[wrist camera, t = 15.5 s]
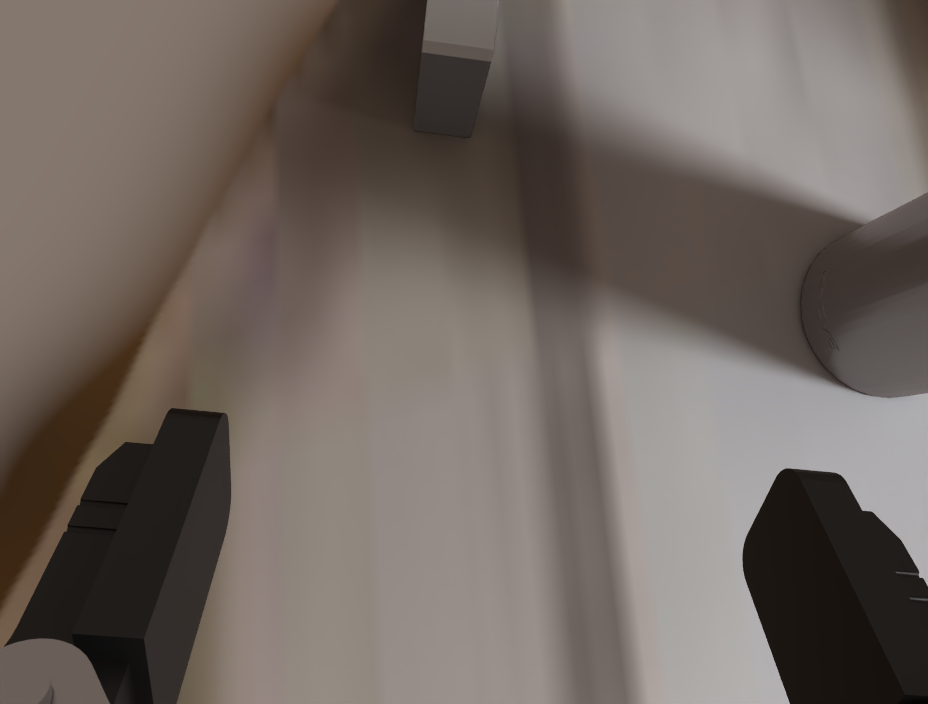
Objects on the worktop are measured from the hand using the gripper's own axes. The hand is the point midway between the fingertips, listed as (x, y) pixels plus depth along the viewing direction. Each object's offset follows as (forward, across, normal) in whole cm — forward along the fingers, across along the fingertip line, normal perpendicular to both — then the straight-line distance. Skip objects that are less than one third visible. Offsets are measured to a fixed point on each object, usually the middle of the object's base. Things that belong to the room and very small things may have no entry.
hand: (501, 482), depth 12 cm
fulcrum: (+36, 0, +4) cm, 37 cm away
